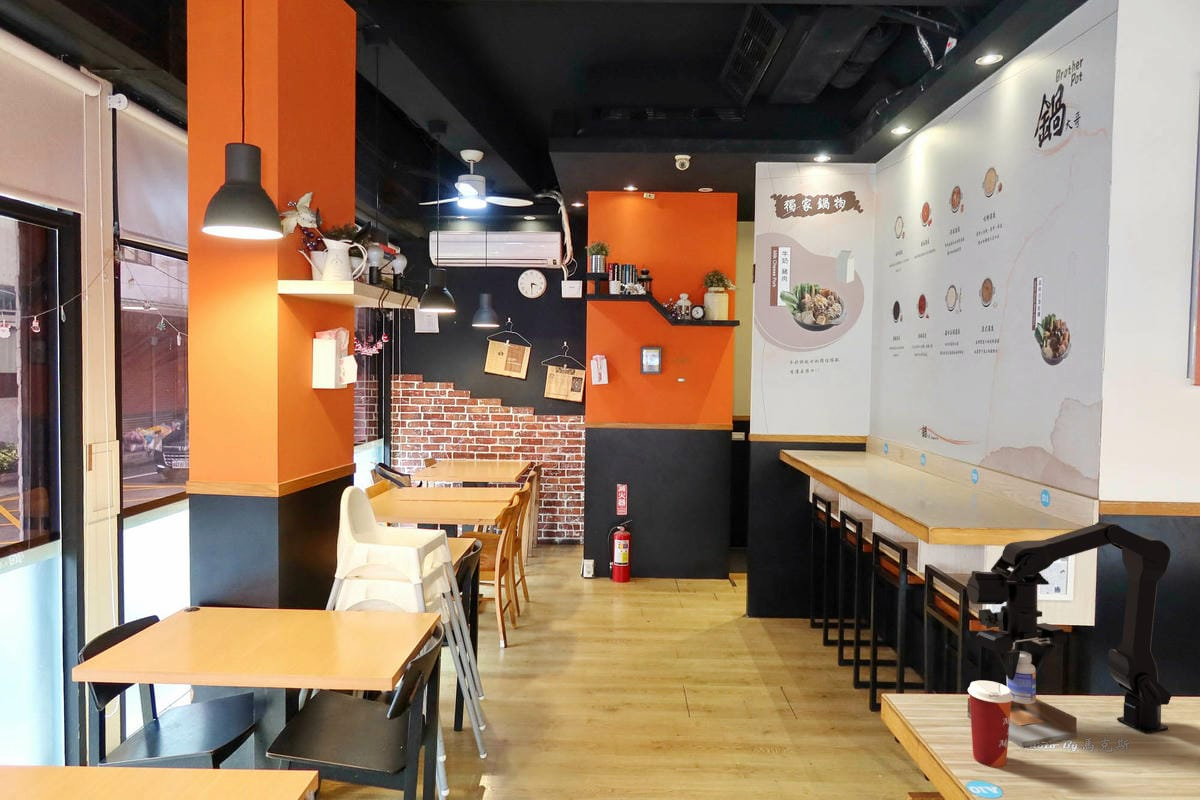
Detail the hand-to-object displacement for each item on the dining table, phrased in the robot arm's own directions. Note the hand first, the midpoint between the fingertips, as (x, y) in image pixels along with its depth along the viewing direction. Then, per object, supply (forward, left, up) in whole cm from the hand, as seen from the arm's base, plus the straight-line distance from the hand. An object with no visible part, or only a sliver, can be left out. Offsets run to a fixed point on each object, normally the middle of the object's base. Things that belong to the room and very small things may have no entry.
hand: (1021, 677), depth 157 cm
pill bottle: (0, 0, -5) cm, 5 cm away
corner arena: (+2, +1, -10) cm, 10 cm away
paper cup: (+19, +10, -10) cm, 23 cm away
